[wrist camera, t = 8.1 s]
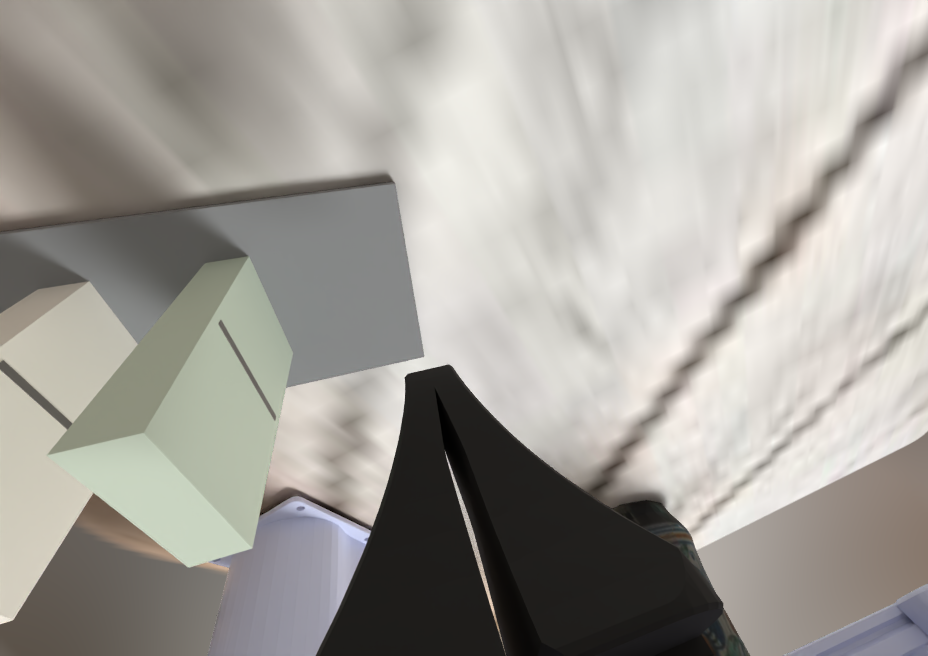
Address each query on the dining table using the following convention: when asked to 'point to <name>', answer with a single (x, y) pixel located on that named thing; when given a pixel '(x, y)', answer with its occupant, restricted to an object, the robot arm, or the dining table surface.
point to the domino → (46, 421)
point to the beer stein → (661, 523)
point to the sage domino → (190, 418)
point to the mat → (274, 258)
